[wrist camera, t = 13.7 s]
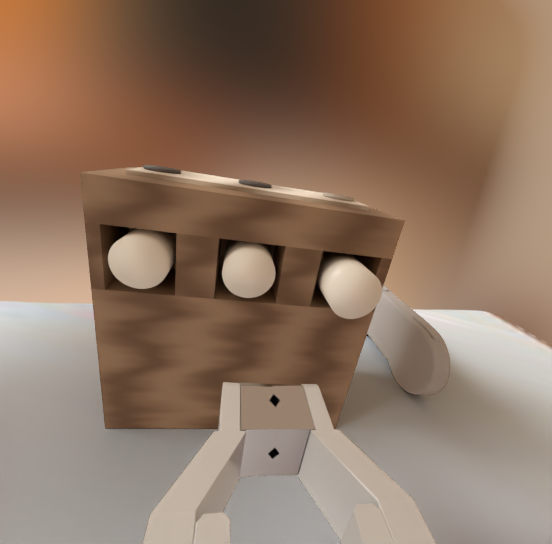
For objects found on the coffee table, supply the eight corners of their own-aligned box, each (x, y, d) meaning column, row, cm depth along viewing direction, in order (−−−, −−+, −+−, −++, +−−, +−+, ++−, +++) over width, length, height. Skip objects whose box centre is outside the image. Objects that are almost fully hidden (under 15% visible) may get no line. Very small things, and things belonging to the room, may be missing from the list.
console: (105, 428, 22) (78, 162, 15) (139, 358, 30) (134, 160, 23) (334, 428, 26) (407, 213, 18) (313, 366, 34) (357, 196, 26)
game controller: (435, 411, 30) (466, 349, 27) (417, 411, 30) (446, 349, 27) (359, 316, 48) (373, 273, 45) (347, 315, 47) (360, 271, 44)
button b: (323, 317, 18) (336, 267, 17) (309, 290, 22) (319, 248, 21) (372, 320, 19) (389, 273, 18) (351, 294, 23) (363, 253, 21)
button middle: (219, 295, 19) (224, 245, 18) (223, 272, 23) (227, 230, 21) (271, 299, 19) (279, 252, 18) (266, 277, 23) (272, 236, 22)
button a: (109, 286, 18) (105, 232, 16) (132, 263, 21) (130, 218, 20) (168, 291, 18) (169, 239, 17) (180, 268, 22) (181, 224, 21)
